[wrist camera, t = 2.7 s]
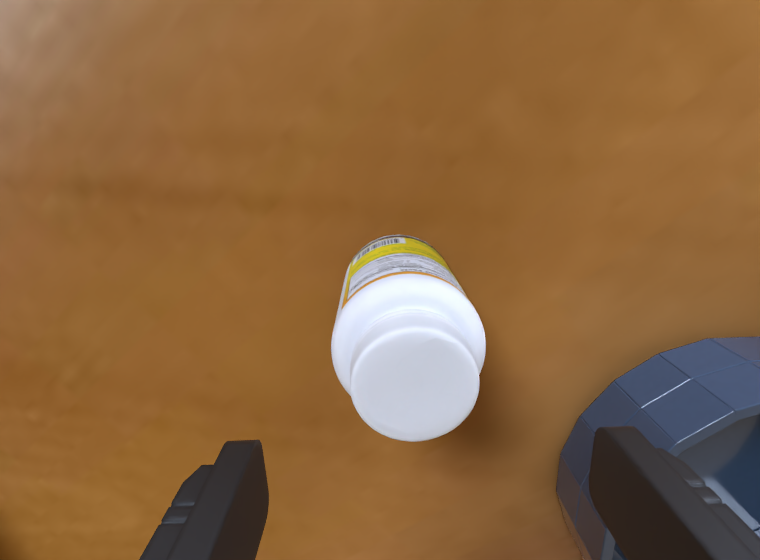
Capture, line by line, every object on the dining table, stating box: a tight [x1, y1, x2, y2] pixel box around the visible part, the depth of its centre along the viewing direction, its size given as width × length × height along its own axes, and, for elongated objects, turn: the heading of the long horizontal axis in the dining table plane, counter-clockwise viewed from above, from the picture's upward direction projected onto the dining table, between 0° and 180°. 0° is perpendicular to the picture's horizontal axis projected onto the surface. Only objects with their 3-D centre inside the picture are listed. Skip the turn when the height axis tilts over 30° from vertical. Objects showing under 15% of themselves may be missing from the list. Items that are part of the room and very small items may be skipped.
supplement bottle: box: [331, 235, 486, 442], centre depth 18 cm, size 6×6×10 cm
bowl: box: [556, 337, 760, 560], centre depth 23 cm, size 17×17×6 cm
